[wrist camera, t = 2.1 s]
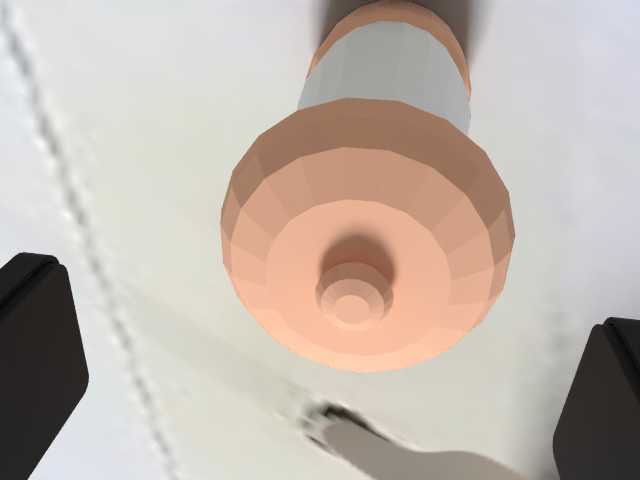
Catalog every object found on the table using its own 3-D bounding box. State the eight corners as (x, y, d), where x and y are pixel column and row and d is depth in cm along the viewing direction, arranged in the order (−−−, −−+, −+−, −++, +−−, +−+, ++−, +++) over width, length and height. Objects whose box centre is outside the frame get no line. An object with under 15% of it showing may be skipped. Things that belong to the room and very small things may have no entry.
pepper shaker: (440, 163, 30) (472, 469, 13) (304, 132, 30) (169, 395, 13) (485, 17, 26) (610, 188, 9) (330, -17, 26) (187, 94, 10)
